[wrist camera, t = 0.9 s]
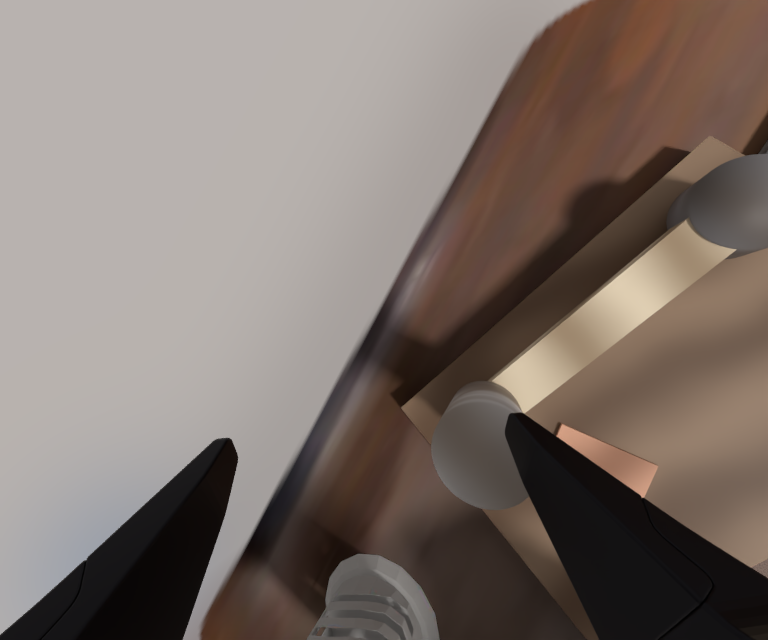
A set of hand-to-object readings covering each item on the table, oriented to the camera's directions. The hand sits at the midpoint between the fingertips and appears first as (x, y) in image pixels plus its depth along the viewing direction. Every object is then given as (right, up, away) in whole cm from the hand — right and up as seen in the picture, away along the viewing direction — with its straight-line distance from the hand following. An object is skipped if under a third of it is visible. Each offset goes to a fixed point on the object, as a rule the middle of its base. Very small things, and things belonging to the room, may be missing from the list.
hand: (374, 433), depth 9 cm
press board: (+16, -1, +9) cm, 18 cm away
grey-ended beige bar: (+12, +4, +7) cm, 15 cm away
